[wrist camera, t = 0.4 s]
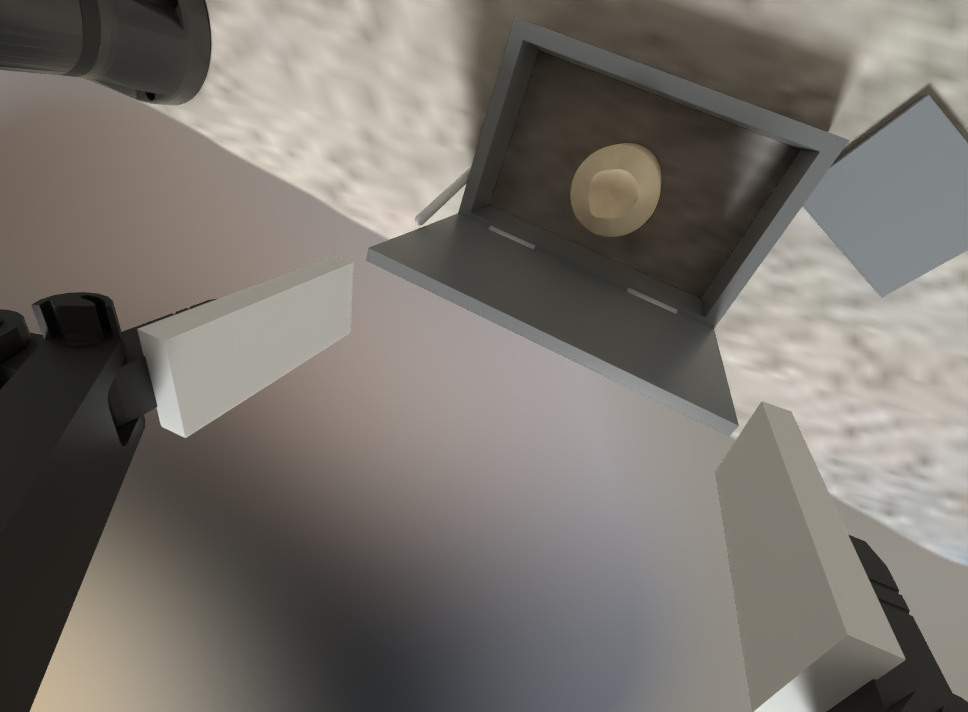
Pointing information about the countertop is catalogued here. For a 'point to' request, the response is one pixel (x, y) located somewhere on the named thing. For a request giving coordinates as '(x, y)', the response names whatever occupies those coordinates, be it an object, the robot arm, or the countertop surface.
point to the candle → (616, 189)
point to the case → (589, 275)
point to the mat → (898, 198)
